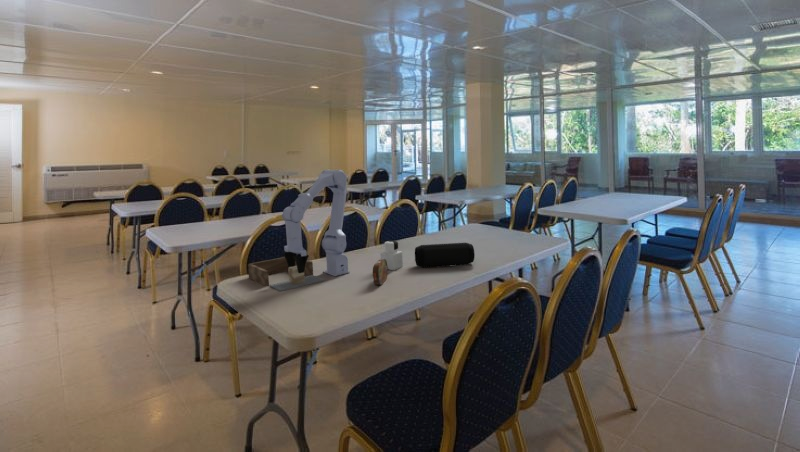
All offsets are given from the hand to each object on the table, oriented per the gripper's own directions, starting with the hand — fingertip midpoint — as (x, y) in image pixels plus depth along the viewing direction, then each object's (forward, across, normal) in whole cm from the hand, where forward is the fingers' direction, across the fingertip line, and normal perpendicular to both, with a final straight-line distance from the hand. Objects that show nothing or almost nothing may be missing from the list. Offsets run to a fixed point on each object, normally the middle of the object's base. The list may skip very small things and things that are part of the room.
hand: (296, 270), depth 173 cm
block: (+5, 0, 0) cm, 5 cm away
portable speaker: (+6, +23, +61) cm, 65 cm away
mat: (+5, 0, 0) cm, 5 cm away
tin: (+6, +22, +25) cm, 34 cm away
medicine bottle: (+6, +9, +42) cm, 43 cm away
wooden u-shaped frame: (+5, -14, 0) cm, 15 cm away
